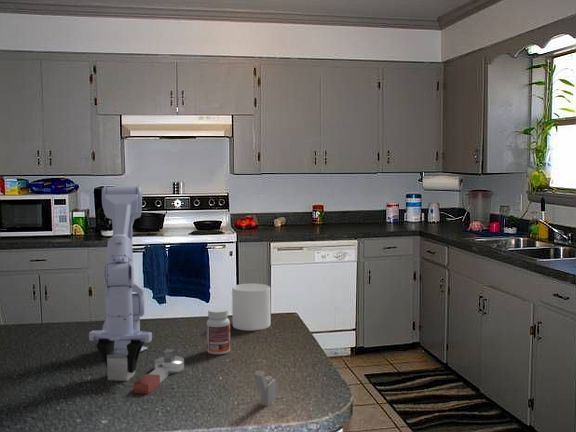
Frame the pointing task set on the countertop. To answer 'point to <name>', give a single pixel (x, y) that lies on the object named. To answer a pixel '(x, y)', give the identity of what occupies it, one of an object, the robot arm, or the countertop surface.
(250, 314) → the white cylinder
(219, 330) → the pill bottle
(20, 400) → the countertop surface
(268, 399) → the lighter
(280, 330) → the countertop surface
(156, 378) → the ratchet
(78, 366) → the countertop surface
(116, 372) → the grey block
